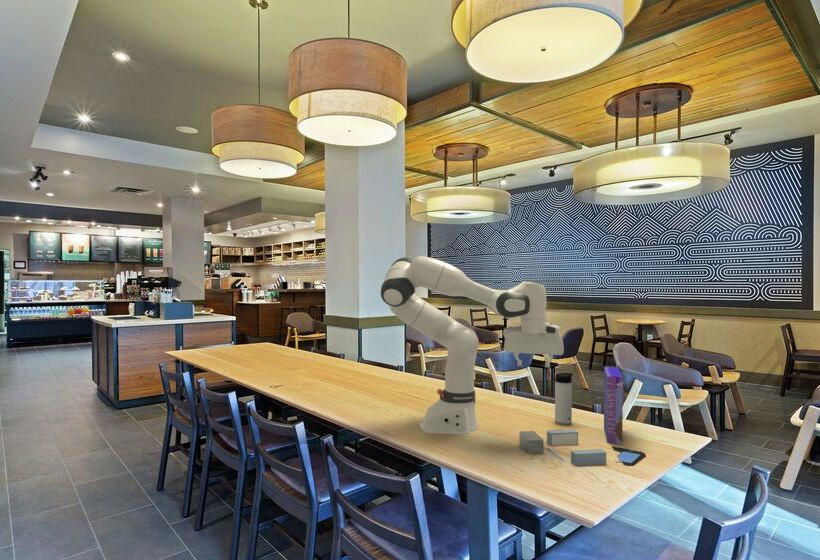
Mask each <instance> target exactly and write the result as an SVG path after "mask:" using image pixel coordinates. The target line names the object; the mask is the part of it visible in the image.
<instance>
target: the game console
mask: <svg viewBox="0 0 820 560" xmlns="http://www.w3.org/2000/svg"><path fill="white" fill-rule="evenodd" d="M610 447H611V448H612V449H613V451H615V452H618V453H619V454H617V455H616V458H617V459H618V460H617V461H615V463H617V464H618V463H619V464H622V465H623V466H625V467H634V466H636V465H637V464H638V463H640V462H641V461H642V460H643V459H644V458H646V457H647V455H646V453H645V452H643V451H639V450H634V449H629V448H624V447H618V446H613V445H611V446H610Z"/></svg>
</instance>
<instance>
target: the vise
mask: <svg viewBox="0 0 820 560" xmlns="http://www.w3.org/2000/svg"><path fill="white" fill-rule="evenodd" d="M547 450H548V451H549V452H550V453H551V454H553V455H554V456H555V457H556V458H557V459H559V460H560V461H561V462H565V460H564V458H562V457H561V456H560V455H559V454H558V453H556V451H555V450H554V449H552V448H551V447H547ZM570 463H572V464H573V465H574V466H595V465H607V452H606V451H605V450H604V449H602V448H598V449H596V448H594V449H592V448H591V449H578V450H576V449H575V450H570Z"/></svg>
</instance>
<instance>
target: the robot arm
mask: <svg viewBox="0 0 820 560" xmlns="http://www.w3.org/2000/svg"><path fill="white" fill-rule="evenodd" d="M386 272H387V273H386V275H385V278H384V279H383V283H382V284H381V287H380V297H381V299H382V301H383V302H384V303H385V304H387V305H388V306H389V309H390V311H391V312H392V313H393V314H394V316H396V317H397V318H398V319H399V320H401V321H402V322H404V323H405V324H406V325H408V326H409V327H411V328H412V329H415V330H416V331H417V332H418V333H421V334H423V335H424V336H426V337H428V338H429V339H431V340H432V341H434V342H435V343H437V344H440V345H441V346H443V347H444V348H445V349H447V358H446V364H445V368H444V389H443V390H442V389H441V388H438V389H436V393H437V395H439V399H438V400H437V401H436V402H434V403H433V404H431V406H428V408H427V410H426V411H425V417H424V419H421V420H420V421H419V423H418V426H419V429H420V430H421V431H422V432H423V433H426V434H437V435H438V434H440V435H442V434H443V435H444V434H445V435H469V434H470V433H472V432H475V431H477V430H478V429H479V423H478V421H477V417H476V409H475V408H476V407H475V405H476V390H475V365H476V360H477V353H478V349H479V346H480V341H479V337H478V336H477V334H476V332H475V331H474V330H473V329H472V328H470V327H468V326H465V325H463V323H460V322H459V321H457V320H456V319H454V318H453V317H451V316H449V315H448V314H446V313H445V312H444V311H442V310H440V309H438V308H437V307H435V306H434V305H432V304H430V303H429V302H427V301H426V300H425V299H422V298H421V297H420V296H418V295H417V294H416V289H417V288H424V289H428V290H429V291H432V292H435V293H438V294H440V295H444V296H448V297H465V298H467V299H471V300H473V301H476V302H479V303H482V304H483V305H486V306H487V307H488V308H489V309H490V310H491V311H492V312H493V313H494V314H495V315H498V316H499V317H503V318H505V319H512V318H516V317H517V318H518V317H520V326H507V327H504V329H503V331H502V332H503V334H502V335H503V338H504V344H503V350H504V352H505V353H507V354H508V353H511V354H513V355H514V358H515V360H516V361H517V363H516V364H517V365H516V366H519V367H520V366H521V367H522V365H523V360H522V359H520V358H519V354H527V355H528V354H529V355H530V354H531V355H546V356H547V355H548V358H549V359H548V361H545V365H544V367H545V368H551V362H552V360H553V359H554V356H562V355H563V354H564V353H565V352H564V351H565V348H564V341H563V337H562V335H561V333H560V331H561V328H560V326H559V325H556V324H553V323H550V322H547V314H546V309H547V291H546V287H545V286H544V284H543V283H541V282H538V281H533V280H532V281H531V280H523V281H522V282H521V283H519V284H518V285H516V286H513V287H512V288H509V289H506V288H497V289H494V288H490V287H488V286H486V285H483V284H480V283H478V282H475V281H474V280H472V279H470V278H469V276H467V275H466V274H465V273H464V272H463V271H462V270H461V269H459V268H458V267H456V266H454V265H453V264H450V263H448V262H445V261H442V260H440V259H437V258H433V257H428V256H424V255H418V256H416V257H415V258H413V259H412V258H409V257H400V258H398V259H396V260H395V261H394V262H393V263H391V266H390V268H389V269H388V271H386Z"/></svg>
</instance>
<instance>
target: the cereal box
mask: <svg viewBox="0 0 820 560" xmlns="http://www.w3.org/2000/svg"><path fill="white" fill-rule="evenodd" d="M623 381H624V378H623V375H622V373H621V371H620V369H619V367H618V366H612V365H611V366H609V365H607V366H603V429H604V434H605V439H606V443H608V444H615V445H616V444H617V445H623V421H624V420H623V418H624V417H623V415H624V414H623V406H624V405H623V402H624V400H623V399H624V398H623V397H624V396H623V395H624V394H623V393H624V386H623V384H624V382H623Z"/></svg>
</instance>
